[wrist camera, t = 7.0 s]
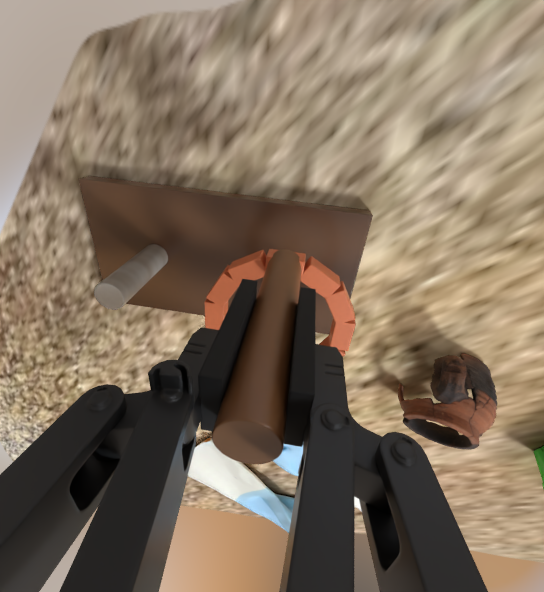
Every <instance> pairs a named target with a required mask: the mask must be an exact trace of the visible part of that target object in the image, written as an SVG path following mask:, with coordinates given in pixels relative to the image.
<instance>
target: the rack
mask: <svg viewBox="0 0 544 592" xmlns="http://www.w3.org/2000/svg"><path fill="white" fill-rule="evenodd" d="M79 183H80V188H81V192H82V196H83V200H84V205H85V209H86V213H87V217H88V221H89V226H90V230H91V234H92V238H93V242H94V247H95V251H96V255H97V259H98V264H99V268H100V272H101V276H102V280H103V281H101V282H100V283H99V284H97V285H96V286H95V289H94V295H95V297H96V299H97V301H98V302H99V303H100V304H101V305H103V306H104V307H106V308H108V309H112V310H116V309H120V308H122V307H123V306H124V305H125V304H132V305H139V306H145V307H152V308H158V309H165V310H172V311H178V312H185V313H192V314H198V315H205V301H206V299H207V298H206V296H207V295H208V293H209V291H210V290H211V288H212V287H213V285H214V284H215V282H216V281H217V280H218V278H219V277H220V275H221V274H222V272H223V271H224V269H225V268H226V267H227V265H229V266H230V265H231V263H232V262H233V261H235V260H238V259H240V258H243V257H245V256H248V255H250V254H253V253H255V252H258V251H260V250H264V252H265V254H266V256H267V253H268V251H269V249H275V250H282V249H287V250H291V251H293V252H297V253H305V254H306V258H305V262H306V261H307V260H308V259H309V258H310V257H311V256H312V257H314V258H315V259H316V260H318V261H319V262H320V263H322V264H323V265H324V266H326V267H327V268H329V269H330V270H331V271H333V272H334V273H335V274H337V275H338V276H339V278H340V281H343V282H344V285H345V287H346V290H347V293H348V295H349V298H351V294H352V291H353V287H354V283H355V280H356V276H357V272H358V269H359V265H360V261H361V257H362V254H363V250H364V246H365V243H366V239H367V235H368V231H369V228H370V224H371V220H372V217H373V215H372V213H371V211H369V210H361V209H353V208H345V207H337V206H329V205H321V204H313V203H305V202H297V201H289V200H281V199H273V198H264V197H256V196H248V195H240V194H232V193H224V192H216V191H208V190H200V189H192V188H184V187H176V186H168V185H160V184H152V183H144V182H136V181H127V180H119V179H111V178H103V177H95V176H86V177H82V178H79ZM263 278H264V277H262V278H260V279H257V280H255V281H257V294H256V299H257V296H258V293H259V290H260V287H261V284H262V281H263ZM300 287H305V288H310V287H308V286H307V285H305V284H304V283H303V282H301V281H300ZM237 290H238V288H237V289H236V291H235V292H234V293H233V295H232V296H231V297H230V299H229V300H228V309H229V307H230V305H231V303H232V300H233V298H234V296H235V294H236V292H237ZM299 293H300V290H299ZM332 321H333V316H332V314H331V311H330V309H329V307H328V304H327V302H326V300H325V298H324V297H323V296H321V295H320V294H318V293H317V292H316V320H315V332H317V333H324V334H329V333H330V329H331V325H332Z"/></svg>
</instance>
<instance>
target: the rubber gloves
mask: <svg viewBox="0 0 544 592" xmlns="http://www.w3.org/2000/svg"><path fill="white" fill-rule="evenodd" d="M302 454H303V445H302V447H299V446H293V445H288V444H284V448H283V451H282V453H281V455H280V456H279V457H278V458H277V459H275V460H273V461H274V462H275V463H276V464H277V465H278V466H280V467H281V468H282V469H284V470H285V471H287V472H289V473H290V474H293V475H295V476H298V470H299V466H300V462H301V458H302ZM188 476H189V477H191V478H193V479H195V480H197V481H199V482H201V483H202V484H204V485H206V486H208V487H210V488H212V489H214V490H216V491H218V492H220V493H221V494H223V495H225V496H227V497H228V498H230V499H232V500H234V501H236V502H238V503H239V504H241V505H242V506H245V507H246V508H248V509H249V510H251V511H253V512H255V513H257V514H259V515H261V516H263V517H266V518H267V519H269V520H271V521H273V522H274V523H275V524H277V525H279V526H280V527H282V528H283V529H284V530H286V531H287V532H288V533H289V530H290V524H291V518H292V511H293V505H294V499H295V498H292V497H288V496H283V495H279V494H275V493H274V492H272V491H271V490H270V489H269V488H268V487H267V486H266V485H265V484H264V483H263V482H262V481H261V480H260V479H259V478H258V477H257V476H256V475H255V474H254V473H253V472H252V471H251V470H250V469H249V468H247V467H246V466H245V465H244V464H243V463H242V462H239V461H236V460H233V459H231V458H229V457H227V456H225V455H224V454H222V453H221V452H220V451H219V450H218V449H217V448H216V447H215V445H214V443H213V440H212V438H207V439H206V440H204V441H203V442H201V443H200V444H198V446H196V447H195V449H194V453H193V457H192V460H191V464H190V468H189V472H188ZM354 506H355V507H356V508H358V509H359V510H360V511H362V510H361V506H360V501H359V499H358V498H356V497H354Z"/></svg>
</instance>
